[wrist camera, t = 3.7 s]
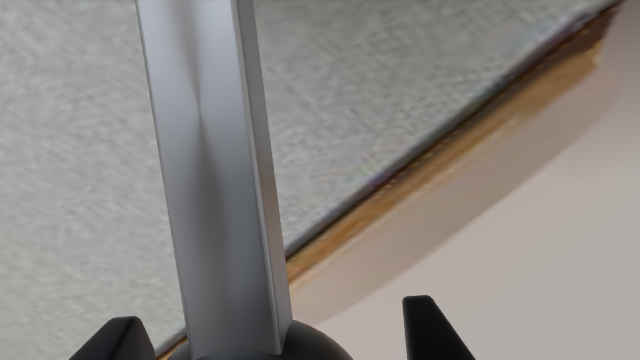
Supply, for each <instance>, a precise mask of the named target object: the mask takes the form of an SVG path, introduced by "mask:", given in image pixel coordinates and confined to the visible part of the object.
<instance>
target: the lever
mask: <svg viewBox="0 0 640 360" xmlns="http://www.w3.org/2000/svg"><path fill="white" fill-rule="evenodd" d="M135 3H136V9H137V16H138V22H139V28H140V35H141V41H142V48H143V54H144V60H145V67H146V73H147V80H148V86H149V93H150V99H151V105H152V112H153V118H154V125H155V131H156V137H157V144H158V150H159V157H160V163H161V170H162V176H163V182H164V189H165V195H166V202H167V208H168V214H169V221H170V227H171V234H172V240H173V247H174V253H175V259H176V266H177V272H178V279H179V285H180V291H181V298H182V304H183V311H184V317H185V323H186V330H187V336H188V341H186V342H185V343H184V344H183V345H181V346H180V347H179V348H178V349H176V350H175V352H174V353H173V354H172V355H171V356H170V357H169V358H168V359H167V360H353V359H352V358H351V356H350V355H349V354H348V353H347V352H346V351H345V350H344V349H343V348H342V347H341V346H340V345H339V344H338V343H336V342H335V341H334V340H332V339H331V338H330V337H328V336H327V335H326V334H324V333H322V332H321V331H319V330H317V329H315V328H313V327H311V326H309V325H306V324H304V323H301V322H298V321H295V320H293V319H292V311H291V303H290V295H289V287H288V279H287V271H286V263H285V255H284V247H283V239H282V231H281V223H280V215H279V206H278V198H277V190H276V182H275V174H274V166H273V158H272V150H271V142H270V134H269V126H268V118H267V110H266V102H265V94H264V86H263V78H262V70H261V62H260V54H259V46H258V38H257V30H256V22H255V14H254V6H253V0H135Z"/></svg>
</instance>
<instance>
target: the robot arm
mask: <svg viewBox="0 0 640 360" xmlns="http://www.w3.org/2000/svg"><path fill="white" fill-rule="evenodd" d="M402 302H403V316H404V327H405V339H406V349H407V359H408V360H476V359H475V358H474V357H473V355H472V354H471V352H470V351H469V350H468V348H467V347H466V345H465V344H464V343H463V341H462V340H461V338H460V337H459V336H458V334H457V333H456V331H455V330H454V329H453V327H452V326H451V324H450V323H449V321H448V320H447V319H446V317H445V316H444V314H443V313H442V312H441V310H440V309H439V307H438V306H437V305H436V303H435V302H434V300H433V299H432V298H431V297H430V296H428V295H422V296H407V297H405V298H403V301H402ZM69 360H156V358H155V351H154V348H153V346H152V343H151V341H150V339H149V337H148V334H147V332H146V330H145V328H144V325H143V323H142V321H141V320H140V319H139V318H138V317H136V316H128V317H115V318H112V319H111V320H109V321H108V322H107V323H106V324H105V325H104V326H103V327H102V328H101V329H100V330H99V331H98V332H97V333H96V334H94V335H93V336H92V337H91V338H90V339H89V340H88V341H87V342H86V343H85V344H84V345H83V346H82V347H81V348H80V349H79V350H78V351H77V352H76V353H75V354H74V355H73V356H72V357H71V358H70V359H69Z"/></svg>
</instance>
